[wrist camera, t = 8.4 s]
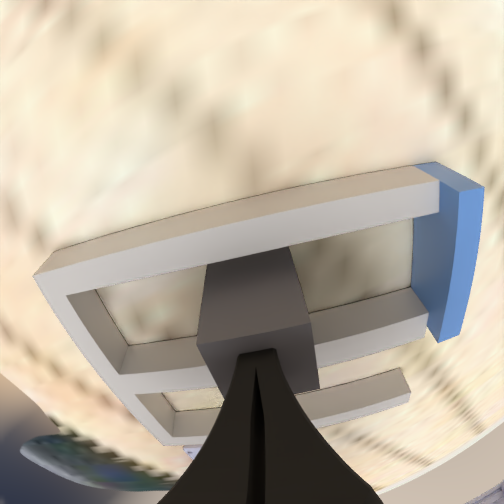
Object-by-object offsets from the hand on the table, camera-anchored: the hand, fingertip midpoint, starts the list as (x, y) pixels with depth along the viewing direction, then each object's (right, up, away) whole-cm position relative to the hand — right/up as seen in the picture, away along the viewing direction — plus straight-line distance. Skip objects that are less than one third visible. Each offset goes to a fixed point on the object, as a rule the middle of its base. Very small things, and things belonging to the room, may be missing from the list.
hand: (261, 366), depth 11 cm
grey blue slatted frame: (+1, -1, +7) cm, 7 cm away
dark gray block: (0, +3, +5) cm, 6 cm away
